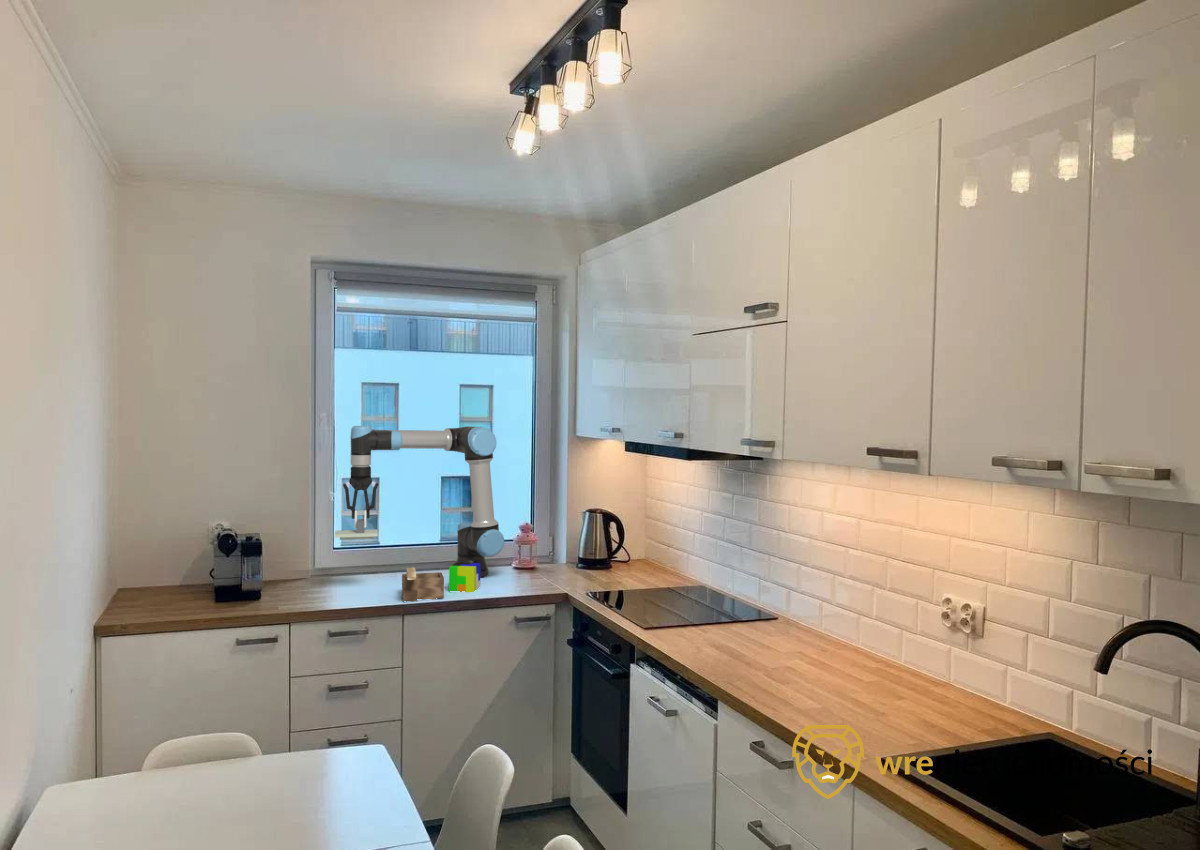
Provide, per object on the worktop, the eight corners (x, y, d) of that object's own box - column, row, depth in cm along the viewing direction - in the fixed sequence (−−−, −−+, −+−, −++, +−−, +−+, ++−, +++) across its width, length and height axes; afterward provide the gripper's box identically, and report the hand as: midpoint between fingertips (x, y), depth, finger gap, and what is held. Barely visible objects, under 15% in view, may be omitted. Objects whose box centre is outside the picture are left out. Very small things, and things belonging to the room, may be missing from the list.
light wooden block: (414, 575, 320) (414, 567, 320) (415, 579, 313) (415, 571, 312) (406, 575, 319) (406, 567, 319) (407, 580, 312) (407, 571, 312)
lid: (377, 535, 335) (377, 518, 335) (377, 539, 325) (377, 521, 325) (335, 536, 331) (335, 519, 331) (334, 540, 321) (334, 522, 321)
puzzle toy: (480, 588, 345) (480, 563, 345) (474, 593, 335) (474, 567, 335) (455, 587, 346) (456, 562, 346) (449, 592, 336) (449, 567, 336)
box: (441, 592, 335) (441, 569, 335) (444, 600, 322) (444, 575, 322) (402, 594, 331) (402, 570, 331) (403, 602, 318) (403, 577, 318)
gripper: (382, 465, 334) (381, 525, 334) (339, 465, 329) (339, 526, 330) (382, 466, 326) (382, 527, 327) (338, 466, 322) (338, 529, 323)
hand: (360, 527), depth 328 cm, fingers closed on lid, 3 cm apart
